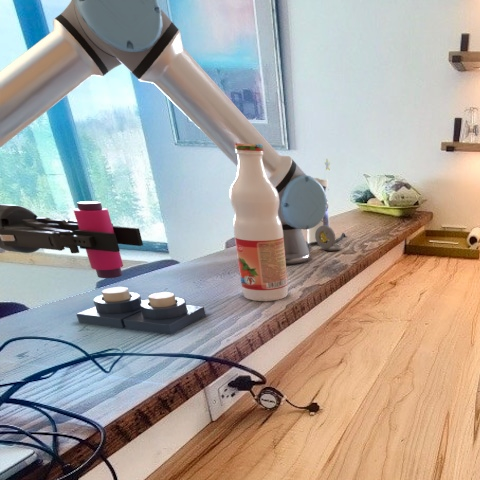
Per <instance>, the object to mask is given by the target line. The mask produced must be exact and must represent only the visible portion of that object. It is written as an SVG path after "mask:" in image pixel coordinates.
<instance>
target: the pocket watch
mask: <svg viewBox="0 0 480 480" xmlns="http://www.w3.org/2000/svg"><path fill="white" fill-rule="evenodd" d="M323 218H326V217H323ZM326 219H327V218H326ZM321 221H322V220H321ZM322 222H323V223H324V225H322V226H320V227H319V228H318V229H317V230H316V233H315V238H316V241H317V243H318V244H319V245H318V246H319V247H320V249H321V250H324V251H329V252H335V251H339V250H342V248H343V247H342V245H340V244H335V240H336V239H337V238H336V233H335V231H334V230H333V228H331V227H330V225H329V226H326V223H327V222H328V219H327V222H326V220H324V221H322ZM321 235H322V237H321ZM321 238H322V239H321ZM326 240H327V241H328V240H329V242H328V243H324V242H325V241H326Z"/></svg>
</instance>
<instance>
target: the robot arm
mask: <svg viewBox="0 0 480 480" xmlns="http://www.w3.org/2000/svg"><path fill="white" fill-rule="evenodd" d="M52 24H53V30H52V31H51V32H49V33H48V34H46V36H44V37H42V38H41V39H40V40H39V41H38V42H36V43H35V44H34V45H33V46H31V47H30V48H29V49H27V50H26V51H25V52H23V53H22V54H21V55H19V56H18V57H17V58H16V59H14V60H13V61H12V62H10V63H9V64H8V65H6V66H5V67H4V68H3V69H2V70H0V148H2V147H3V146H5V145H6V144H7V143H8V142H9V141H11V140H12V139H14V138H15V137H16V136H17V135H18V134H19V133H21V132H22V131H24V130H25V129H26V128H27V127H28V126H30V125H31V124H32V123H33V122H35V121H36V120H38V119H39V118H40V117H41V116H43V115H44V114H46V113H47V112H48V111H49V110H50V109H52V108H53V107H54V106H55V105H57V104H58V103H59V102H61V100H63V99H64V98H65V97H66V96H68V95H69V94H71V93H72V92H73V91H74V90H76V89H77V88H78V87H80V86H81V85H82V84H83V83H84V82H86V81H87V80H88V79H89V78H91V77H92V76H96V77H100V78H103V77H104V76H105V75H107V74H108V73H109V72H111V71H112V70H113V69H116V68H117V67H120V66H121V65H123V66H124V67H125V68H126V69H127V70H128V71H129V73H131V74H132V75H133V76H134V77H135V78H136V79H137V80H138V81H139V82H141V83H142V82H143V83H151V84H154V86H156V87H157V88H158V89H159V90H160V91H161V92H162V94H163V95H165V96H166V98H168V99H169V100H170V101H171V102H172V104H173V105H175V106H176V107H177V108H178V109H179V110H180V111H181V112H182V114H184V116H186V117H187V118H188V119H189V120H190V121H191V123H193V125H195V126H196V127H197V128H198V130H199V131H201V132H202V133H203V134H204V135H205V136H206V138H207V139H208V140H210V141H211V142H212V144H214V145H215V146H216V147H217V148H218V149H219V150H220V152H222V154H224V156H226V157H227V159H229V160H230V161H231V162H232V163H233V164H234V166H236V167H237V168H238V155H237V154H236V150H235V143H242V144H259V145H262V146H263V155H262V160H263V165H264V168H265V171H266V174H267V176H268V178H269V180H270V181H271V183H272V184H273V185H274V186H275V188H276V189H277V191H278V194H279V209H278V216H279V218H280V220H281V223H282V228H283V237H284V250H285V261H286V265H297V264H302V263H306V262H308V261H309V260H310V258H311V256H310V254H311V253H310V250H309V249H310V247H311V246H320V245H319V244H318V243H317V242H311V243H308V242H306V238H305V236H304V234H303V231H302V230H307V229H310V228H313V227H315V226H316V225H318V224H319V223H320V222H321V220H322V219H323V217H324V215H325V212H326V208H327V202H328V201H327V199H328V197H326V196H327V192H326V193H325V191H324V189H323V187H322V185H321V184H320V183H319V182H318V181H317V180H315V179H314V178H315V177H312V176H310V175H307V174H306V173H305V172H304V171H303V169H302V168H300V166H299V165H298V164H297V163H296V162H295V160H294V159H293V158H292V157H291V156H289V155H281V154H279V153H278V152H277V151H276V149H275V148H274V147H273V146H272V145H271V143H269V142H268V140H267V139H265V137H264V136H263V135H262V134H261V132H259V130H258V129H257V128H256V127H255V126H254V125H253V124H252V122H251V121H250V120H249V119H248V118H247V117H246V115H244V113H243V112H241V110H240V109H239V108H238V107H237V105H235V103H234V102H233V101H232V100H231V99H230V98H229V97H228V95H226V93H225V92H224V91H223V90H222V89H221V88H220V86H219V85H217V83H216V82H215V81H214V80H213V78H211V77H210V76H209V74H208V73H207V72H206V71H205V70H204V68H203V67H201V65H200V64H199V63H198V62H197V61H196V60H195V59H194V58H193V57H192V55H191V54H190V53H189V52H188V51H187V50H186V48H185V47H184V45H183V39H182V35H181V31H180V29H179V28H178V27H177V26H176V25H175V24H174V22H173V21H172V19H170V18H169V16H168V15H167V14H166V13H165V12H164V11H163V9H161V6H160V3H159V1H158V0H70V2H69V3H68V5H67V6H66V7H65V9H64V10H63V11H61V13H60V14H59V15H57V16H56V17H55V18H53V19H52ZM112 227H113V230H114V233H107V232H96V231H85V230H80V229H79V226H78V223H77V220H76V219H73V218H65V219H55V218H54V219H53V218H50V217H43V216H42V217H39V216H38V215H37V214H36V213H35V212H34V211H32V210H31V209H29V208H27V207H26V206H22V205H16V204H5V203H0V254H5V252H6V251H8V252H11V253H12V252H13V253H21V254H32V253H35V252H37V251H39V250H40V249H44V250H51V251H52V250H53V251H59V252H60V251H64V250H66V249H69V251H70V253H71V254H79V253H80V250H79V248H80V249H83V250H86V249H91V250H101V251H111V252H121V250H120V247H119V245H125V246H134V247H136V246H137V247H142V246H144V242H143V239H142V235H141V230H140V228H139V227H128V226H116V225H114V224H113V223H112ZM343 238H347V236H346V233H345V232H342V233H341V235H340V237H338V238H336V239H335V243H338V242H341V241H342V240H343ZM328 242H329V241H325V242H324V243H328ZM335 243H334V244H335ZM65 248H66V249H65Z"/></svg>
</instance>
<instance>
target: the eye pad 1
mask: <svg viewBox="0 0 480 480" xmlns="http://www.w3.org/2000/svg"><path fill="white" fill-rule="evenodd" d="M129 292H130V291H129V288H128V287H125V286H114V287H113V286H112V287H107V288H104V289H102V290H101V295H103V298H104V301H108V302H114V301H123V300H127V299H130V294H129Z"/></svg>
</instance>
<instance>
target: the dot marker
mask: <svg viewBox="0 0 480 480" xmlns="http://www.w3.org/2000/svg"><path fill="white" fill-rule="evenodd" d="M76 206H77V208H74V209H73V213H74V217H75V220H77V223H78V226H79V229H80V230H85V231H96V232H107V233H114V230H113V227H112V224H113V223H112V220H111V217H110V212H109V209H108V208H105V207H103V206H102V202H100V201H94V200H91V201H90V200H85V201H78V202H76ZM85 251H86V255H87V259H88V261H89V265H90V268H91V269H92V270H95V273H96V275H97V278H100V279H116V278H120V277H122V276H123V272H122V268H123V267H124V263H123V260H122V256H121V251H119V252H111V251H101V250H91V249H85Z"/></svg>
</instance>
